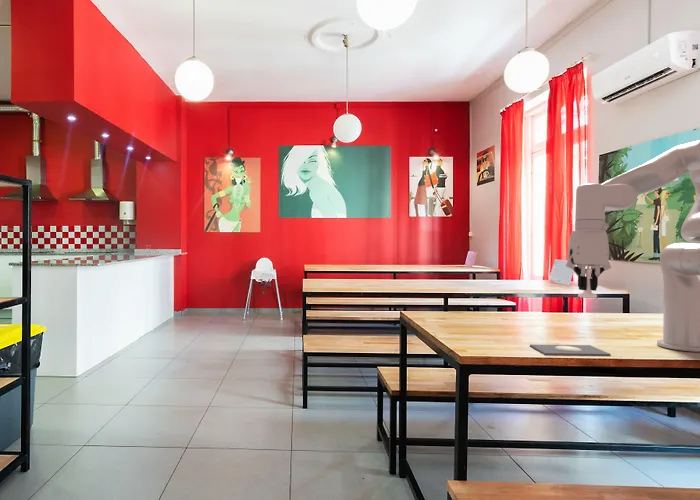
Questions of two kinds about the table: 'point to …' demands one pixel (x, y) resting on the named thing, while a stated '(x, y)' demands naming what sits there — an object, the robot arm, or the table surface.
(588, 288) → the chess piece
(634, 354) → the table surface
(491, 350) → the table surface
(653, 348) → the table surface
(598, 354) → the mat
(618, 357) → the table surface
